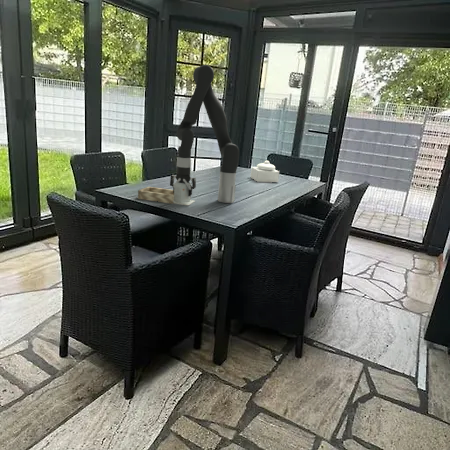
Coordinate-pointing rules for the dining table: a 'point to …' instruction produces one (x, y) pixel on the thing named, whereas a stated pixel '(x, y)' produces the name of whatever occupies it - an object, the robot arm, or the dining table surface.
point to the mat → (185, 203)
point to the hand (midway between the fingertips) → (182, 194)
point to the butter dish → (265, 172)
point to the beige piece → (156, 194)
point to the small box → (181, 193)
